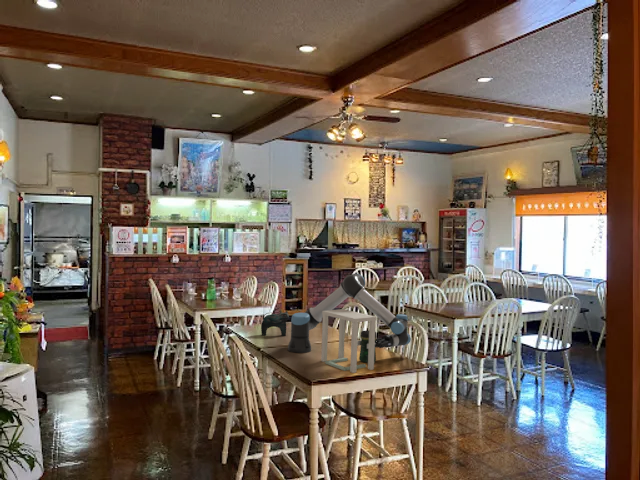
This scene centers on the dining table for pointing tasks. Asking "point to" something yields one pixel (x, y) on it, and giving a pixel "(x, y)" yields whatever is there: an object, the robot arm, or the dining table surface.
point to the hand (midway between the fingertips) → (362, 344)
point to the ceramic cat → (275, 322)
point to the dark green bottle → (365, 346)
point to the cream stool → (354, 318)
